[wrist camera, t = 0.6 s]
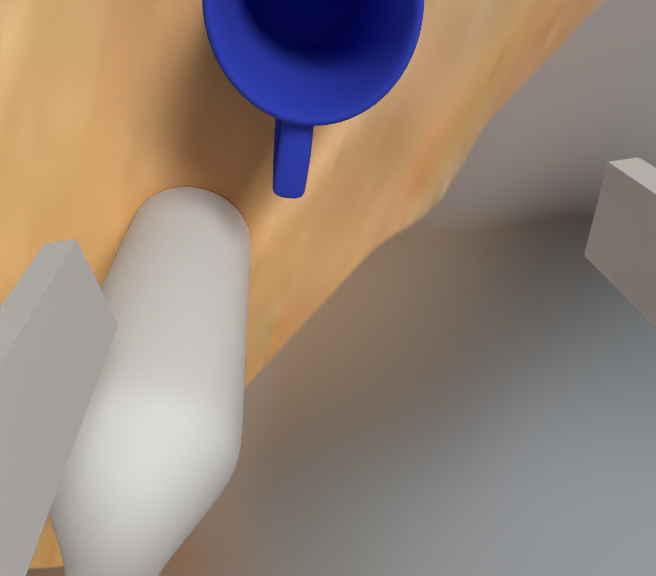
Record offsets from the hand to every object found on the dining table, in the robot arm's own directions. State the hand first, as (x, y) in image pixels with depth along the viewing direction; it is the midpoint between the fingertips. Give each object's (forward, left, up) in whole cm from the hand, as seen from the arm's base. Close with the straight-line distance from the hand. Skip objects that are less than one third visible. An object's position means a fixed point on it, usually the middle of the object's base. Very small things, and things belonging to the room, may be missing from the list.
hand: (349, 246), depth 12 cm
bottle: (+10, -9, -20) cm, 24 cm away
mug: (-2, 0, -20) cm, 20 cm away
